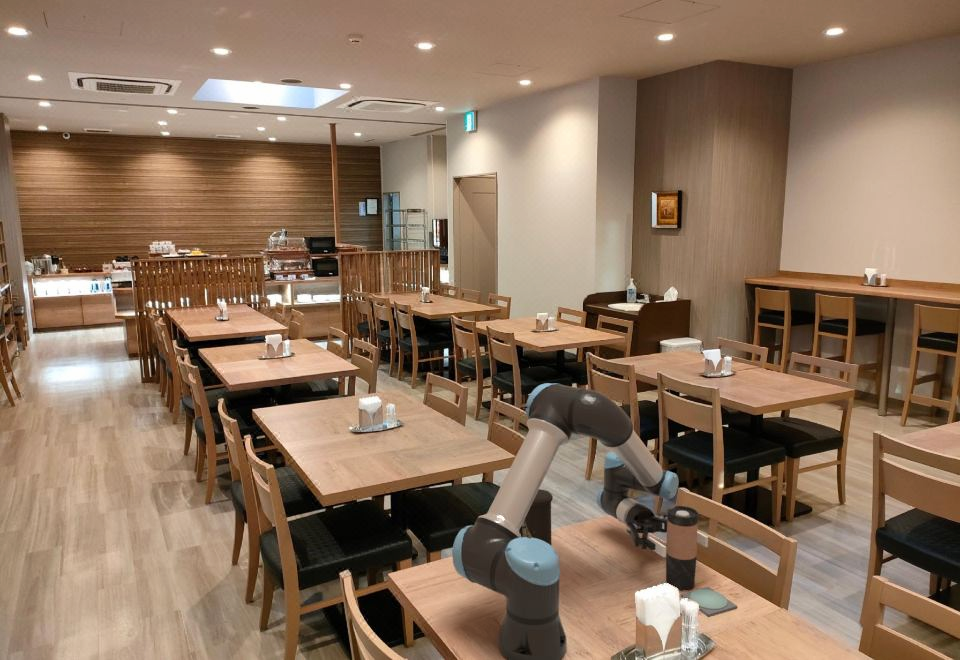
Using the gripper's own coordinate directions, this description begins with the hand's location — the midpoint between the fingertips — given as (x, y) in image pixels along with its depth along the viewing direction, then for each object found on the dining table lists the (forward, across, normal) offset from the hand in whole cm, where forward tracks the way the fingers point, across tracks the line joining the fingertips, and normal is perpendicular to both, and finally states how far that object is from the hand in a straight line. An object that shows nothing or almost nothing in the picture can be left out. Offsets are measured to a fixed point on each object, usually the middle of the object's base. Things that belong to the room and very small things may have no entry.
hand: (686, 547), depth 175 cm
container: (-29, +28, -11) cm, 42 cm away
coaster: (+8, 0, -11) cm, 14 cm away
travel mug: (-1, 0, -11) cm, 11 cm away
